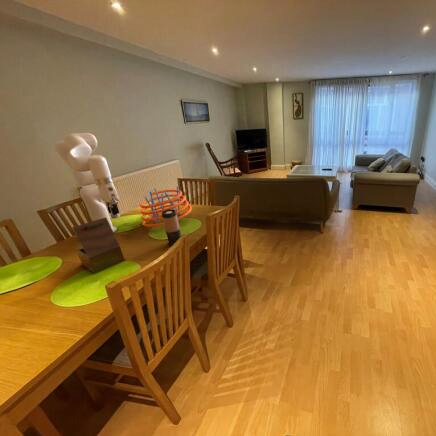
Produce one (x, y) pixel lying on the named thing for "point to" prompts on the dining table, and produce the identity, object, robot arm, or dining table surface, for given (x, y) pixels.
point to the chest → (101, 259)
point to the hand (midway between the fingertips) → (114, 213)
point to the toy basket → (161, 203)
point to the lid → (96, 236)
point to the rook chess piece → (115, 214)
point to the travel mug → (171, 225)
